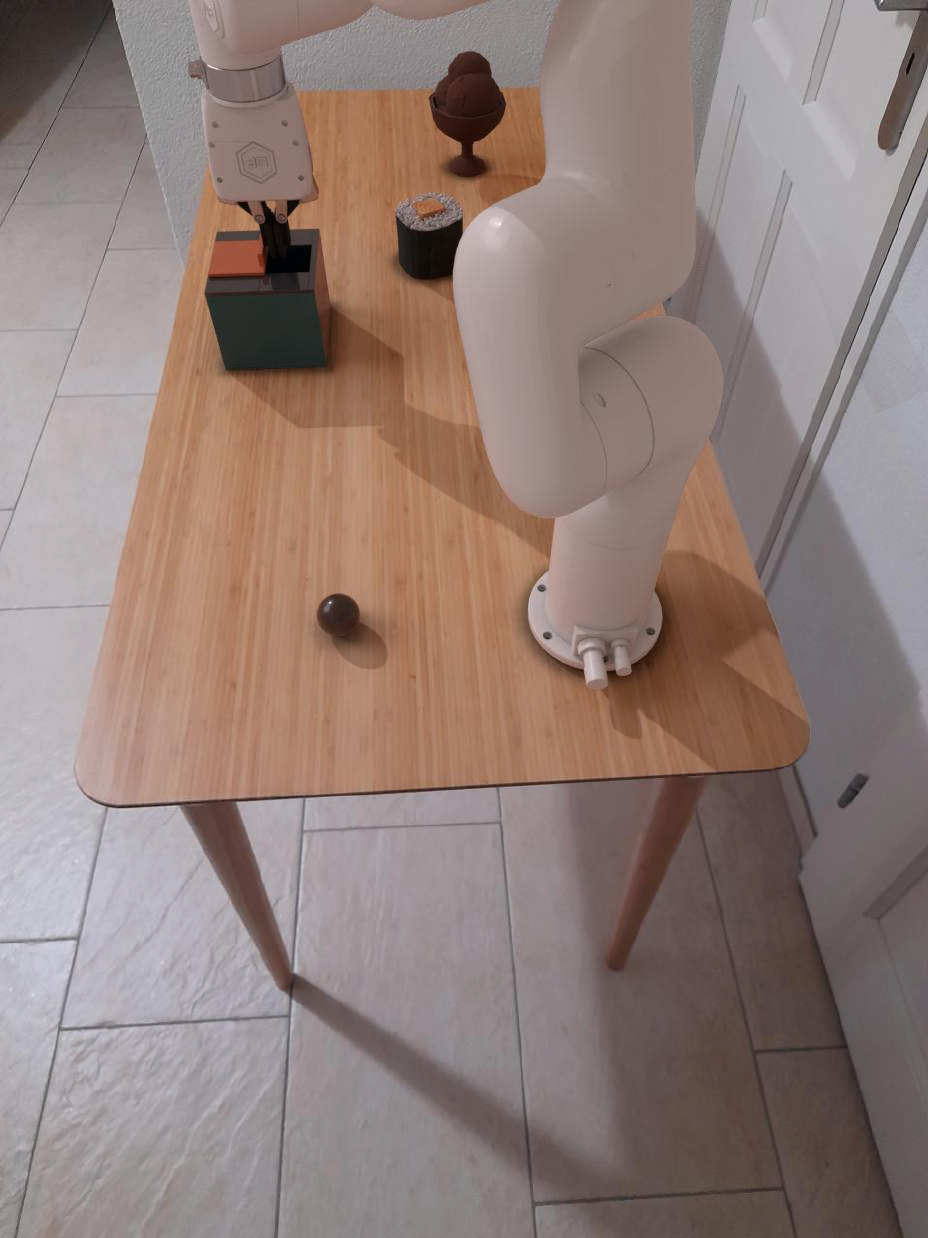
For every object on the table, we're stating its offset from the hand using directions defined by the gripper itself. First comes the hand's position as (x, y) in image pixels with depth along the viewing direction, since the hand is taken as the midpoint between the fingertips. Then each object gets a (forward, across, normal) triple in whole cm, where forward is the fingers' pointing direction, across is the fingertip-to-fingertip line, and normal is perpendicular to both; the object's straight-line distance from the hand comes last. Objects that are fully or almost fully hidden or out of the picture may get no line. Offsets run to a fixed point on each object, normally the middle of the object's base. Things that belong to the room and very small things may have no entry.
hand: (278, 249), depth 99 cm
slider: (+1, -5, 0) cm, 5 cm away
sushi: (+12, +17, +15) cm, 26 cm away
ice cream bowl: (+12, +23, +39) cm, 47 cm away
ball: (+10, +7, -44) cm, 46 cm away
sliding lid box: (+12, -2, 0) cm, 12 cm away
